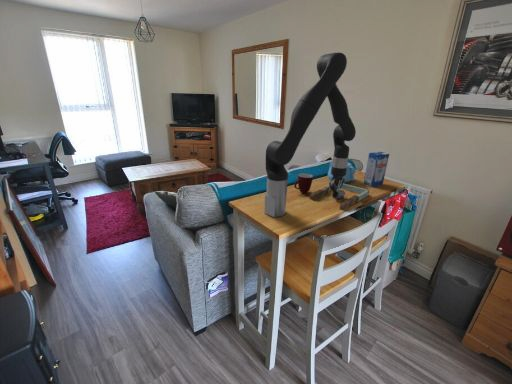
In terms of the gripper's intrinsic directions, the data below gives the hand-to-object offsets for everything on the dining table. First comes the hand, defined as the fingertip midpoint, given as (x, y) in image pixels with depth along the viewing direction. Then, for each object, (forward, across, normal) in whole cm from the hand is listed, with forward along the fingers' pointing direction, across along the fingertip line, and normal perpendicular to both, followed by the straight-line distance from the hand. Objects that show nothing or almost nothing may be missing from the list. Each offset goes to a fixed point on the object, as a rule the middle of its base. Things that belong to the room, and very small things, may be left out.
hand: (334, 197), depth 135 cm
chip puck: (+2, +5, 0) cm, 5 cm away
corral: (+2, +13, 0) cm, 13 cm away
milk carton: (+2, +41, -5) cm, 42 cm away
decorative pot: (+2, +32, +13) cm, 35 cm away
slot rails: (+2, -1, 0) cm, 2 cm away
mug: (+2, -4, +18) cm, 19 cm away
